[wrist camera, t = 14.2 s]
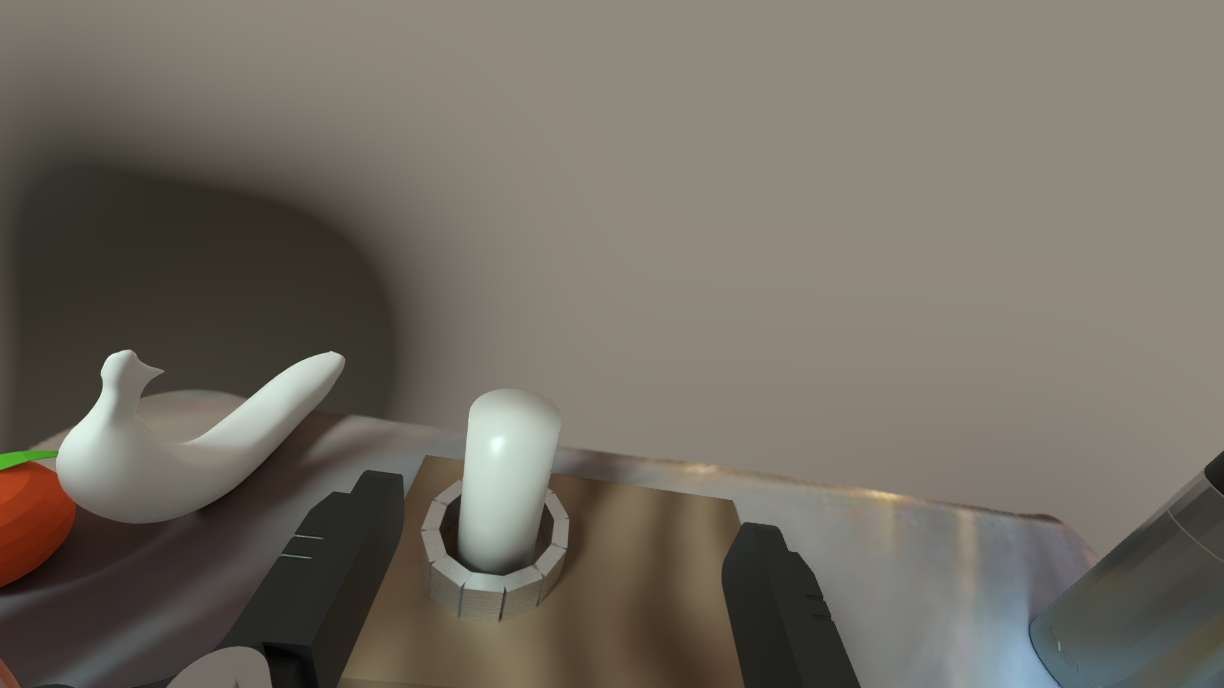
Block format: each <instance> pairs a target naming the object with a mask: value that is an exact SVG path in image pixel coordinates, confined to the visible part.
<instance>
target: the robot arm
mask: <svg viewBox="0 0 1224 688" xmlns="http://www.w3.org/2000/svg"><path fill="white" fill-rule="evenodd" d="M403 524H404V490H403V476H402V475H401V474H394V473H387V472H379V471H372V470H366V471H365V472H363V474H362V475H361V476H360V478H359V480H358V481H357V483H356V485H355V486H354V488H353V490H352V491H351V493H350V494H349V493H341V492H332V493H331V494H330V495H329V496H327V497H326V498H325V499H323V500H322V501H321V502H320V503H318V504H317V505H316V506H315V507H313V508H312V509H311V510H310V511H309V513H308V514H307V516H306V517H305V519H304V520H303V522H302V523H301V525H300V526H299V528H298V529H297V531H296V532H295V535H294V537H293V538H291V540H290V541H289V543H288V544H287V546H286V547H285V549H284V550H283V552H282V555H281V557H279V558H278V559H277V561H276V562H275V564H274V565H273V567H272V568H271V570H270V571H269V573H268V574H267V576H266V577H265V579H264V580H263V582H262V583H261V585H260V586H259V588H258V589H257V591H256V592H255V594H254V595H253V597H252V598H251V600H250V601H249V603H248V604H247V606H246V607H245V609H244V610H243V612H242V613H241V615H240V616H239V618H238V619H237V621H236V622H235V624H234V625H233V627H232V628H231V630H230V631H229V632H228V634H227V635H226V636H225V638H224V639H223V640H222V641H221V642H220V644H219V645H218V646H217V647H216V648H215V649H214V650H213V651H211V652H210V653H209V654H208V655H206V656H204V657H202V658H200V659H198V660H197V661H195V662H193V663H192V664H190V665H189V666H188V667H187V668H185V669H184V670H183V671H182V672H181V673H179V674H177V675H175V676H172V677H170V678H167V679H165V680H162V681H158V682H155V683H151V684H147V685H143V686H138V687H134V688H336V687H337V685H338V683H339V680H340V678H341V676H342V673H343V671H344V669H345V667H346V664H347V662H348V660H349V657H350V655H351V653H352V650H353V648H354V646H355V644H356V641H357V639H358V637H359V634H360V632H361V630H362V627H363V625H364V623H365V620H366V618H367V616H368V614H369V611H370V609H371V607H372V604H373V602H374V600H375V597H376V595H377V593H378V591H379V588H380V586H381V584H382V581H383V579H384V577H385V574H386V572H387V570H388V567H389V565H390V563H391V561H392V558H393V556H394V554H395V551H396V549H397V547H398V544H399V541H400V538H401V534H402V530H403ZM721 580H722V588H723V593H724V597H725V601H726V606H727V610H728V615H729V619H730V624H731V628H732V633H733V637H734V642H735V646H736V651H737V655H738V660H739V664H740V668H741V673H742V677H743V682H744V686H745V688H861V687H860V685H859V682H858V680H857V677H856V675H855V672H854V670H853V668H852V665H851V663H850V660H849V658H848V655H847V653H846V651H845V648H844V646H843V643H842V641H841V638H840V636H839V633H838V631H837V629H836V626H835V624H834V621H832V620H831V614H830V612H829V609H828V607H827V604H826V602H825V601H823V595H822V592H821V590H820V587H819V585H818V582H817V580H816V577H815V575H814V573H813V572H812V570H811V569H810V568H809V567H808V565H807V564H806V563H805V561H804V560H803V559H802V558H801V556H800V555H799V554H798V552H790V551H788V549H787V546H786V543H785V541H784V538H783V535H782V533H781V531H780V529H779V528H778V527H776V526H772V525H765V524H757V523H750V522H745V523H743V524H742V526H741V528H740V530H739V532H738V533H737V535H736V537H735V539H734V541H733V543H732V545H731V547H730V549H729V551H728V553H727V555H726V557H725V559H724V561H723V565H722V573H721ZM1030 635H1031V639H1032V642H1033V645H1034V647H1035V649H1036V651H1037V653H1038V655H1039V657H1040V659H1041V660H1042V662H1043V663H1044V665H1045V666H1046V668H1047V669H1048V671H1049V672H1050V673H1051V674H1052V675H1053V677H1054V678H1055V679H1056V680H1057V681H1058V683H1059V684H1060V685H1061V686H1062V687H1063V688H1224V451H1223V452H1221V453H1220V455H1218V456H1217V457H1216V458H1215V459H1214V460H1213V461H1211V462H1210V463H1209V464H1208V465H1207V466H1206V467H1205V468H1204V469H1203V470H1202V471H1200V472H1199V473H1198V474H1197V475H1196V476H1195V477H1194V478H1192V480H1190V481H1189V482H1188V483H1187V484H1186V485H1185V486H1184V487H1182V488H1181V489H1180V490H1179V491H1178V492H1177V493H1176V494H1174V495H1173V496H1172V497H1171V498H1170V499H1169V500H1168V501H1167V502H1166V503H1165V504H1164V505H1163V506H1161V507H1160V508H1159V509H1158V510H1157V511H1156V512H1155V513H1154V514H1152V515H1151V516H1150V517H1149V518H1148V519H1147V520H1146V521H1145V522H1143V523H1142V524H1141V525H1140V526H1139V527H1138V528H1137V529H1136V530H1134V531H1133V532H1132V533H1131V534H1130V535H1129V536H1128V537H1127V538H1125V539H1124V540H1123V541H1122V542H1121V543H1120V544H1119V545H1118V546H1116V547H1115V548H1114V549H1113V550H1112V551H1111V552H1110V553H1109V554H1107V555H1106V556H1105V557H1104V558H1103V559H1102V560H1101V561H1100V562H1098V563H1097V564H1096V565H1095V566H1094V567H1093V568H1092V569H1091V570H1089V571H1088V572H1087V573H1086V574H1085V575H1084V576H1083V577H1082V578H1080V579H1079V580H1078V581H1077V582H1076V583H1075V584H1074V585H1073V586H1071V587H1070V588H1069V589H1068V590H1067V591H1065V592H1064V593H1063V594H1062V595H1061V596H1060V597H1059V598H1058V599H1056V600H1055V601H1054V602H1053V603H1052V604H1051V605H1050V606H1049V607H1047V608H1046V609H1045V610H1044V611H1043V612H1042V613H1041V614H1040V615H1038V616H1037V617H1036V618H1035V619H1034V620H1033V621H1032V624H1031V626H1030ZM34 688H74V687H71V686H68V685H62V684H51V685H43V686H38V687H34Z"/></svg>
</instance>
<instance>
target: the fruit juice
mask: <svg viewBox="0 0 1224 688" xmlns="http://www.w3.org/2000/svg"><path fill="white" fill-rule="evenodd" d="M0 688H22V686H21V685H20V684H19V682H18V681H17V680H16V678H15V677H14V676H13V674H12V673H11V672H10V670H9V669H8V668H7V666H6V665H5V664H4V662H3V661H2V660H1V658H0Z"/></svg>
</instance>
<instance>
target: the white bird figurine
mask: <svg viewBox="0 0 1224 688" xmlns="http://www.w3.org/2000/svg"><path fill="white" fill-rule="evenodd" d="M345 361H346V360H345V359H344V357H343V356H341V355H339V354H337V353H334V352H332V351H331V352H329V353H323V354H320V355H316V356H313V357H310V358H307V359H305V360H302V361H301V362H299V363H297V364H295V365H293V366H292V367H290V368H288V369H287V370H285V371H284V372H282V373H281V374H279V375H278V376H276V377H275V378H274V379H273V380H271V381H270V382H269V383H268V384H266V385H265V386H264V387H263V388H262V389H260V390H259V391H258V392H257V393H256V394H254V395H253V396H252V397H251V398H250V399H248V400H247V401H246V402H245V403H244V404H242V405H241V406H240V407H239V408H238V409H236V410H235V411H234V412H233V413H231V414H230V415H229V416H227V417H226V418H225V419H224V420H222V421H221V422H220V423H218V424H217V425H216V426H215V427H213V428H212V429H211V430H209V431H208V432H207V433H205V434H204V435H202V436H201V437H199V438H197V439H195V440H192V441H189V442H185V443H180V444H173V443H167V442H164V441H163V440H161V439H160V438H159V437H158V436H157V435H156V434H155V433H154V432H153V431H152V430H151V429H150V428H149V427H148V426H147V425H146V423H145V422H144V421H143V420H142V419H141V418H140V417H139V416H138V415H137V413H136V406H137V403H138V400H139V398H140V395H141V392H142V391H143V388H144V387H145V386H146V384H147V383H148V382H149V381H150V380H151V379H153V377H155V376H157V375H159V374H161V373H163V372H165V371H163V370H161V369H157V368H153V367H150V366H147V365H146V364H144V363H142V362H140V360H139V359H138V358H137V356H136V354H135V353H134V352H133V351H131V350H125V351H121V352H119V353H114V354H112V355H111V356H110V357H108V358H107V360H106V361H105V363H104V366H103V368H102V370H101V376H102V379H103V390H102V393H101V396H100V398H99V400H98V401H97V403H96V405H95V406H94V407H93V409H92V410H91V411H90V413H89V414H88V415H87V416H86V417H85V418H84V419H83V420H82V421H81V422H80V423H79V424H78V425H77V426H76V427H74V428H73V429H72V430H71V431H70V433H69V434H68V435H67V437H66V438H65V440H64V441H63V443H62V445H61V447H60V449H59V453H58V456H57V459H56V471H57V474H58V479H59V483H60V484H61V486H62V488H63V490H64V491H65V492H66V494H67V495H68V496H69V497H70V498H71V499H72V500H73V501H74V502H75V503H77V504H78V505H79V506H81V507H82V508H84V509H86V510H88V511H90V512H92V513H94V514H97V515H99V516H102V517H105V518H107V519H111V520H115V521H119V522H124V523H131V524H138V523H156V522H161V521H167V520H170V519H174V518H177V517H180V516H183V515H186V514H188V513H191V512H193V511H196V510H198V509H200V508H202V507H204V506H206V505H208V504H210V503H212V502H214V501H215V500H217V499H219V498H220V497H222V496H223V495H225V494H226V493H228V492H229V491H231V490H232V489H234V488H235V487H236V486H237V485H239V484H240V483H241V482H242V481H243V480H244V479H246V478H247V477H248V476H249V475H250V474H251V473H252V472H253V471H254V470H255V469H256V468H257V467H258V466H259V465H260V464H262V463H263V462H264V461H265V460H266V459H267V457H268V456H269V455H270V454H271V453H272V452H273V451H274V450H275V449H276V448H277V447H278V446H279V445H280V444H281V443H282V442H283V441H284V440H285V439H286V437H287V436H288V435H289V434H290V433H291V432H292V431H293V430H294V429H295V428H296V426H297V425H298V424H299V423H300V422H301V421H302V420H303V419H304V418H305V417H306V416H307V415H308V414H309V413H310V412H311V411H312V410H313V409H314V408H315V407H316V406H317V405H318V404H319V403H320V402H321V401H322V400H323V399H324V397H325V396H326V395H327V393H328V392H329V391H330V389H331V388H332V386H333V385H334V383H335V381H336V380H337V378H338V376H339V374H340V373H341V372H342V370H343V368H344V364H345Z"/></svg>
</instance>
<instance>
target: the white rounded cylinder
mask: <svg viewBox="0 0 1224 688" xmlns="http://www.w3.org/2000/svg"><path fill="white" fill-rule="evenodd" d="M561 424H562V417H561V414H560V411H559V410H558V408H557V407H556V406H555V404H554V403H553V402H551V401H550V400H549V399H547V398H546V397H544V396H542V395H540V394H538V393H535V392H532V391H528V390H524V389H516V388H507V389H499V390H494V391H491V392H488V393H486V394H484V395H482V396H481V397H479V398H478V399H477V400H476V401H475V402H474V403H473V404H472V406H471V408H470V412H469V422H468V433H467V443H466V454H465V464H464V475H463V485H462V496H461V506H460V517H459V527H458V538H457V548H456V561H457V562H458V563H459V564H461V565H462V566H463V567H465V568H466V569H467V570H469V571H470V572H474V573H482V574H491V575H499V576H505V575H508V574H511V573H513V572H516V571H519V570H522V569H524V568H527V567H530V566H531V562H532V558H533V553H534V548H535V544H536V539H537V535H538V530H539V525H540V521H541V516H542V512H543V507H544V502H545V498H546V493H547V489H548V484H549V479H550V475H551V470H552V466H553V461H554V456H555V452H556V447H557V443H558V438H559V433H560V429H561Z"/></svg>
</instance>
